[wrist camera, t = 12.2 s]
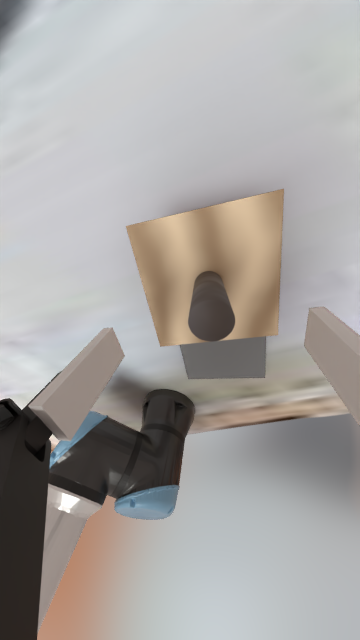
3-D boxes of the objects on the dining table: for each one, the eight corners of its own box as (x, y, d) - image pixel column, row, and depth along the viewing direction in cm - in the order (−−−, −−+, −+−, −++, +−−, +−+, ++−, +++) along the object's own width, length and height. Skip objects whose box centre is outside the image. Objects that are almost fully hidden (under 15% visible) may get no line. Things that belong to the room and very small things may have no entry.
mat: (188, 377, 47) (188, 378, 46) (173, 315, 38) (172, 317, 38) (264, 375, 42) (264, 377, 42) (265, 306, 34) (266, 307, 34)
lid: (161, 342, 26) (140, 401, 17) (129, 226, 20) (68, 225, 11) (274, 330, 23) (318, 394, 14) (279, 190, 17) (363, 150, 8)
